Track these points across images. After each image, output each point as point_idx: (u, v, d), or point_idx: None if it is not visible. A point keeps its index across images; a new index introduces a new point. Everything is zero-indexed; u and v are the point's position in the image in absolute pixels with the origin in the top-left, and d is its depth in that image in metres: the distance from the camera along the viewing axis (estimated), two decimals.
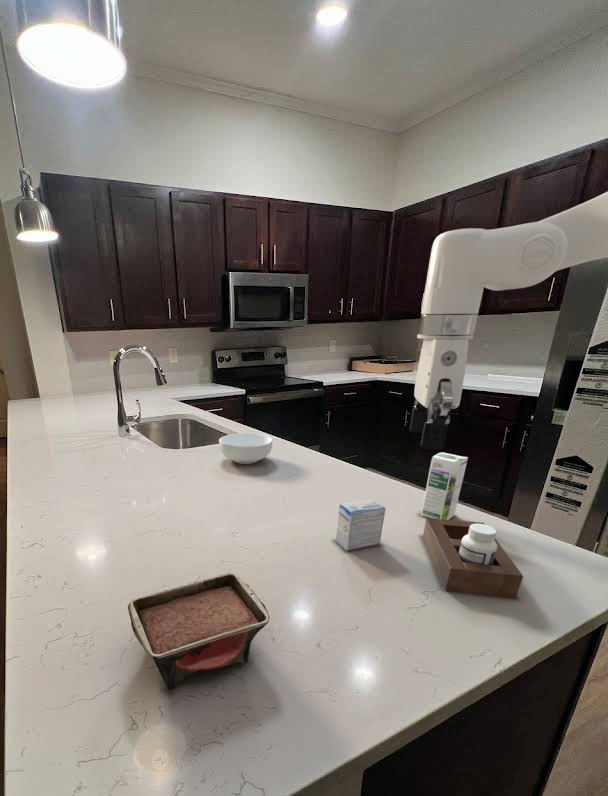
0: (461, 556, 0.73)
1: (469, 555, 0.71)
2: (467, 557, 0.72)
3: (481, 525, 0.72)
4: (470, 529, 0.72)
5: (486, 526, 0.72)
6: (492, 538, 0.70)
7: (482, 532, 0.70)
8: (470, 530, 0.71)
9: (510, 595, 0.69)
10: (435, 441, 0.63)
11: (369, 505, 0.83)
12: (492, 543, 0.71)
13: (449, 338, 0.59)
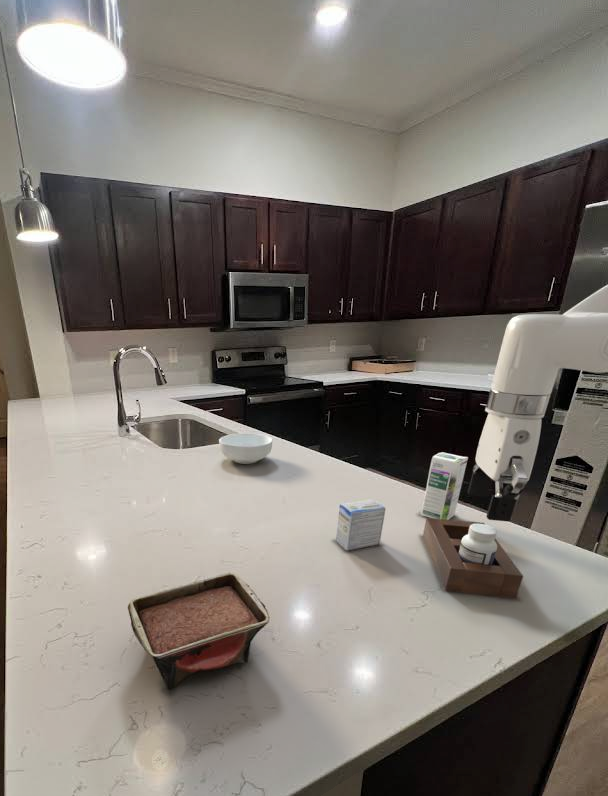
0: (461, 556, 0.73)
1: (469, 555, 0.71)
2: (466, 557, 0.72)
3: (481, 525, 0.72)
4: (470, 529, 0.72)
5: (486, 526, 0.72)
6: (492, 538, 0.70)
7: (482, 532, 0.70)
8: (470, 530, 0.71)
9: (510, 595, 0.69)
10: (503, 514, 0.64)
11: (369, 505, 0.83)
12: (492, 543, 0.71)
13: (522, 417, 0.60)
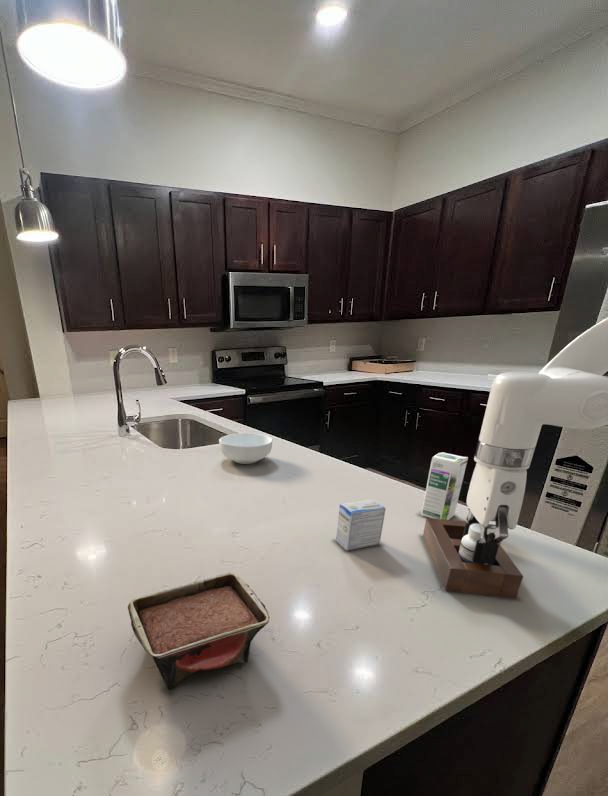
0: (461, 556, 0.73)
1: (469, 555, 0.71)
2: (466, 557, 0.72)
3: (481, 525, 0.72)
4: (470, 529, 0.72)
5: None
6: None
7: None
8: (470, 530, 0.71)
9: (510, 595, 0.69)
10: (487, 558, 0.69)
11: (369, 505, 0.83)
12: None
13: (508, 469, 0.63)
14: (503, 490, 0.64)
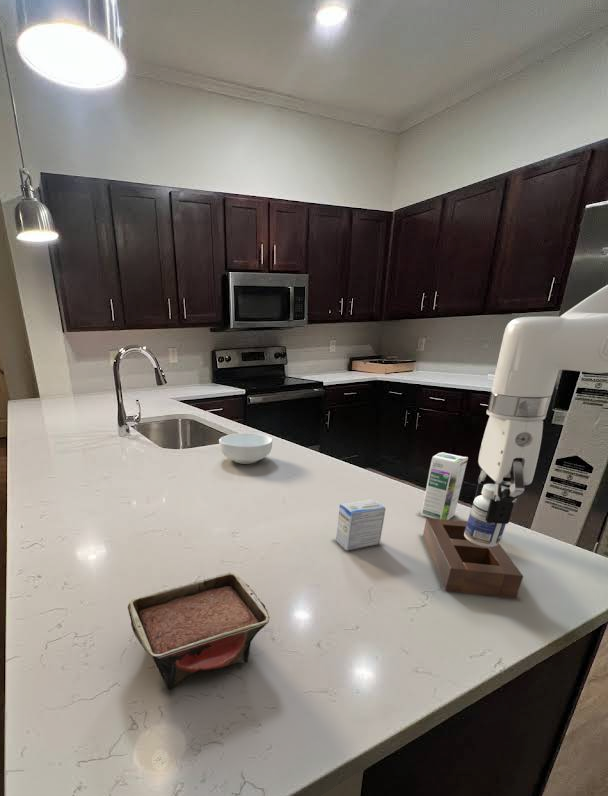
0: (473, 517, 0.70)
1: (482, 516, 0.68)
2: (479, 518, 0.69)
3: None
4: (484, 488, 0.68)
5: None
6: None
7: None
8: (484, 489, 0.68)
9: (510, 595, 0.69)
10: (501, 517, 0.66)
11: (369, 505, 0.83)
12: None
13: (524, 419, 0.60)
14: (518, 443, 0.61)
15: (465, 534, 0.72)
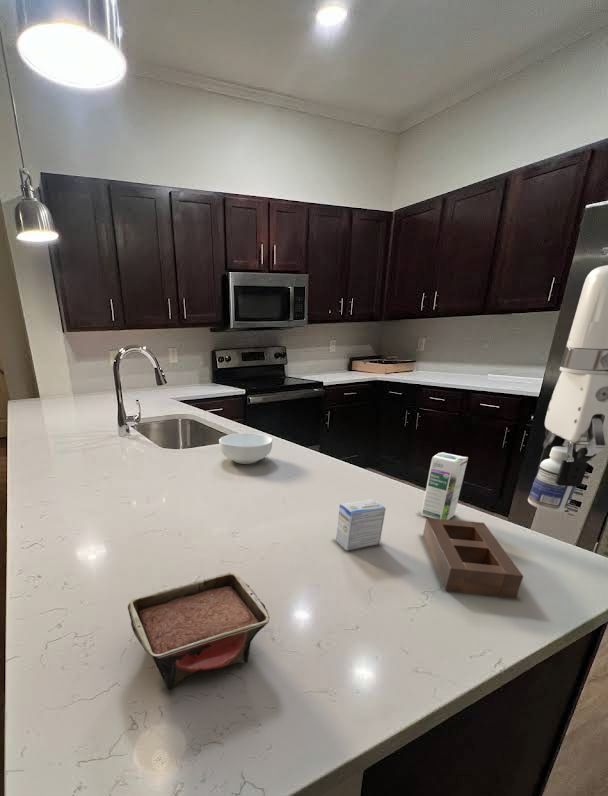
0: (540, 481, 0.67)
1: (551, 479, 0.66)
2: (547, 481, 0.66)
3: (564, 447, 0.67)
4: (553, 450, 0.66)
5: None
6: None
7: None
8: (554, 451, 0.66)
9: (510, 595, 0.69)
10: (574, 479, 0.63)
11: (369, 505, 0.83)
12: None
13: (605, 373, 0.58)
14: (597, 398, 0.59)
15: (530, 500, 0.70)
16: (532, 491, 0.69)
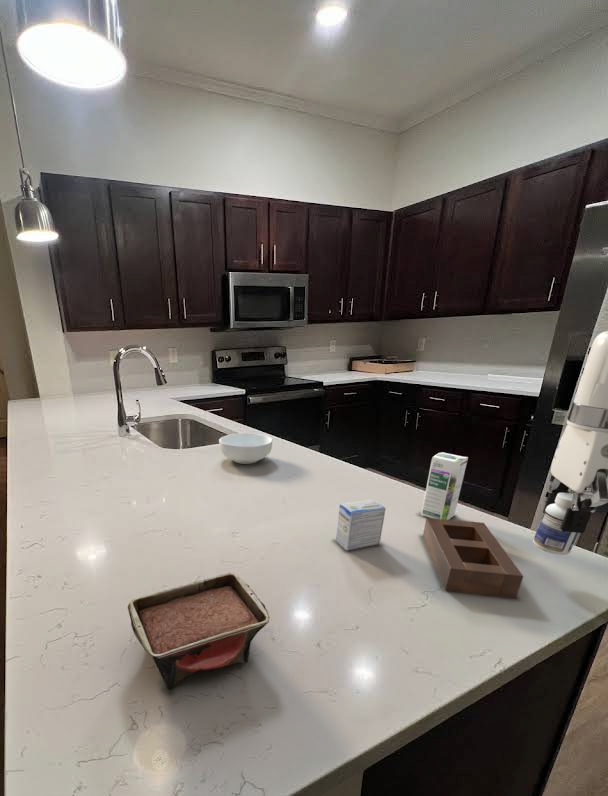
0: (545, 525, 0.71)
1: (556, 524, 0.69)
2: (552, 526, 0.70)
3: (569, 494, 0.70)
4: (558, 497, 0.69)
5: None
6: None
7: None
8: (559, 498, 0.69)
9: (510, 595, 0.69)
10: (578, 526, 0.67)
11: (369, 505, 0.83)
12: None
13: None
14: (602, 454, 0.62)
15: (535, 542, 0.73)
16: (537, 533, 0.73)
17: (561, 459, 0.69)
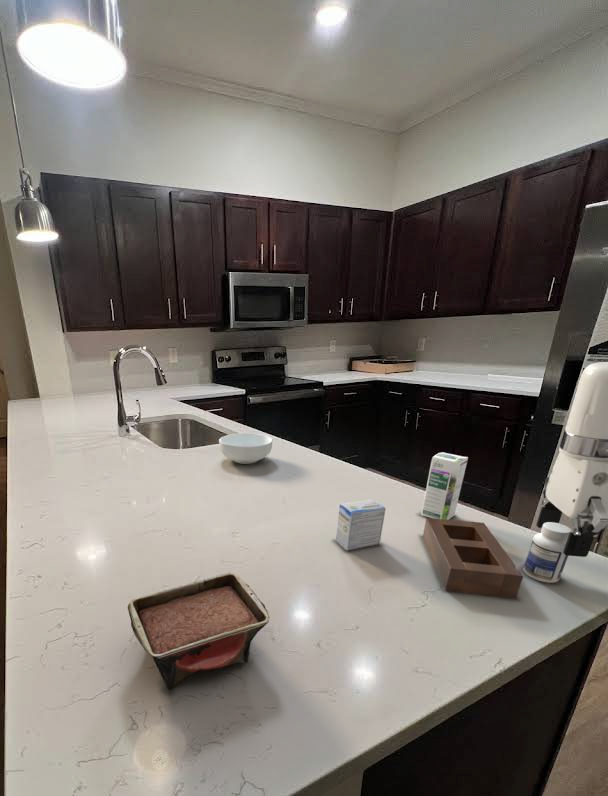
0: (534, 554, 0.73)
1: (543, 554, 0.72)
2: (540, 556, 0.72)
3: (554, 524, 0.72)
4: (544, 528, 0.72)
5: (560, 525, 0.72)
6: None
7: (557, 530, 0.70)
8: (544, 528, 0.72)
9: (510, 595, 0.69)
10: (581, 550, 0.66)
11: (369, 505, 0.83)
12: None
13: (601, 460, 0.63)
14: (594, 481, 0.64)
15: (525, 570, 0.75)
16: (527, 562, 0.75)
17: (555, 484, 0.70)
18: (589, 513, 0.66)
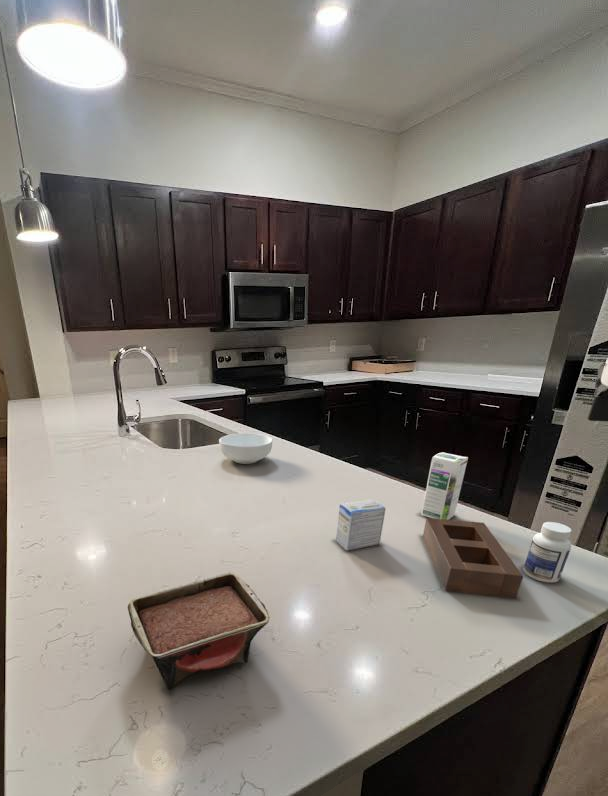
0: (533, 554, 0.73)
1: (543, 554, 0.72)
2: (540, 555, 0.72)
3: (554, 523, 0.72)
4: (544, 527, 0.72)
5: (559, 524, 0.72)
6: (567, 536, 0.70)
7: (557, 530, 0.70)
8: (544, 528, 0.72)
9: (510, 595, 0.69)
10: None
11: (369, 505, 0.83)
12: (567, 541, 0.71)
13: None
14: None
15: (525, 570, 0.75)
16: (527, 562, 0.75)
17: None
18: None
